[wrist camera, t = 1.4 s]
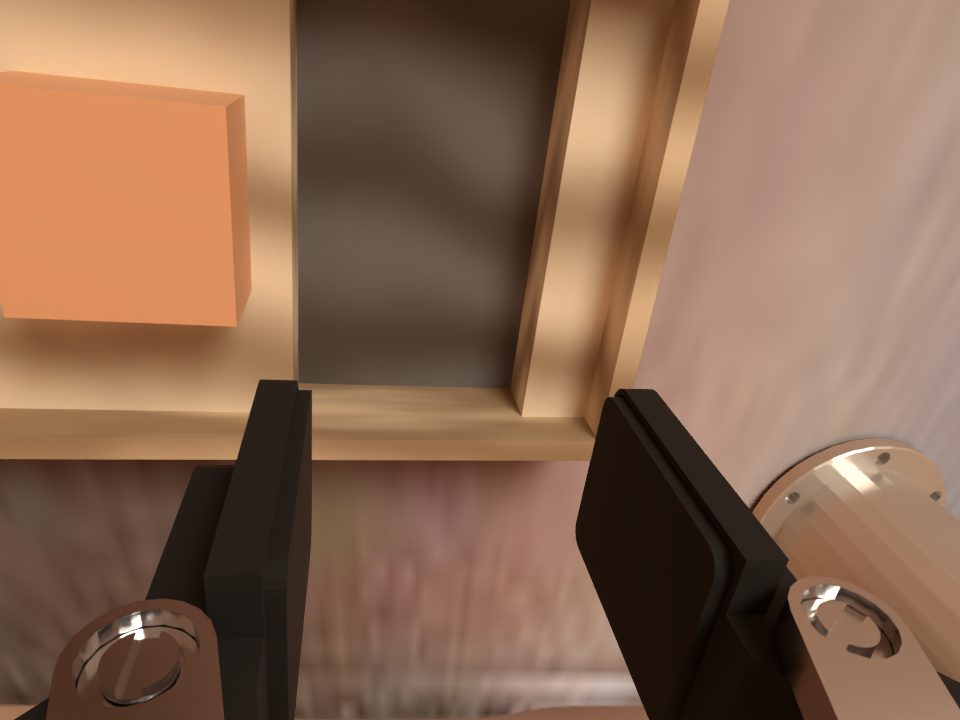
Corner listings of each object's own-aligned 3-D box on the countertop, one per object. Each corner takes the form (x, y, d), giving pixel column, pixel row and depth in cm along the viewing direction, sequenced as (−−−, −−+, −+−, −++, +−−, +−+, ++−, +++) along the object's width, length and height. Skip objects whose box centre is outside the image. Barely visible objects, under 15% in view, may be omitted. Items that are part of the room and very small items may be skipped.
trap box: (581, 403, 34) (614, 460, 29) (-577, 379, 25) (-777, 456, 21) (678, -52, 25) (746, -67, 21) (-1055, -337, 16) (-1581, -471, 12)
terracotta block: (251, 289, 25) (236, 326, 22) (50, 279, 24) (4, 317, 21) (244, 94, 22) (225, 106, 19) (12, 70, 21) (-48, 79, 18)
